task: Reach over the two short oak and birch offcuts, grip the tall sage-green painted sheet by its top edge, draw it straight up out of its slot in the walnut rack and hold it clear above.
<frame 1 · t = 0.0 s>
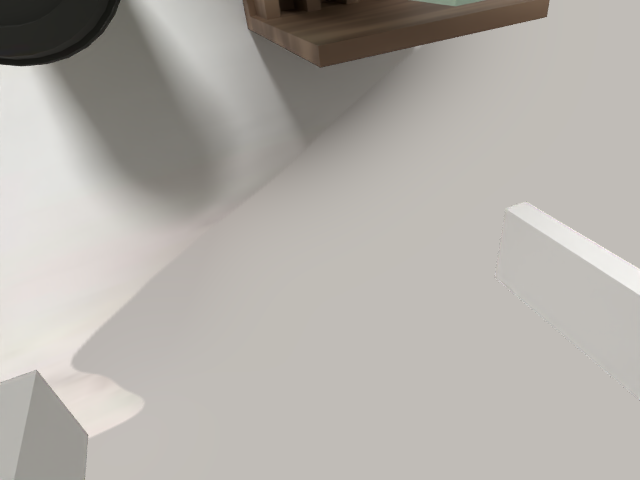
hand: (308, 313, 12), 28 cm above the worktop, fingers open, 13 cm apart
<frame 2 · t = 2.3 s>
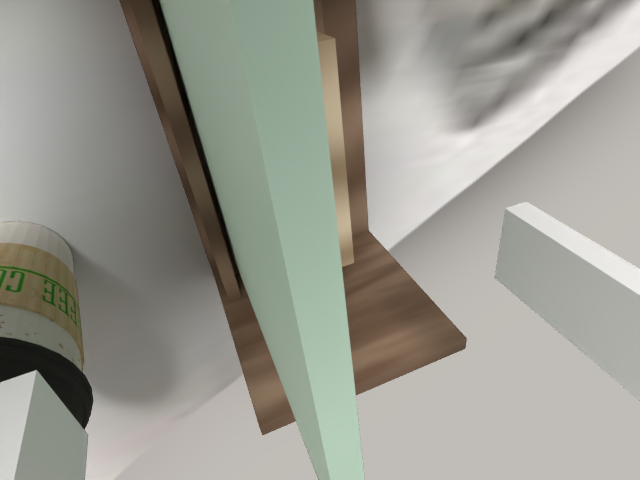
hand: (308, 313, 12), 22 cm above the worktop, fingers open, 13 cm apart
offcut birch: (292, 128, 31), point 1 cm above the worktop, touching rack
sheet: (198, 106, 28), point 1 cm above the worktop, touching rack
rack: (259, 85, 30), on the worktop
coffee cup: (22, 258, 30), on the worktop
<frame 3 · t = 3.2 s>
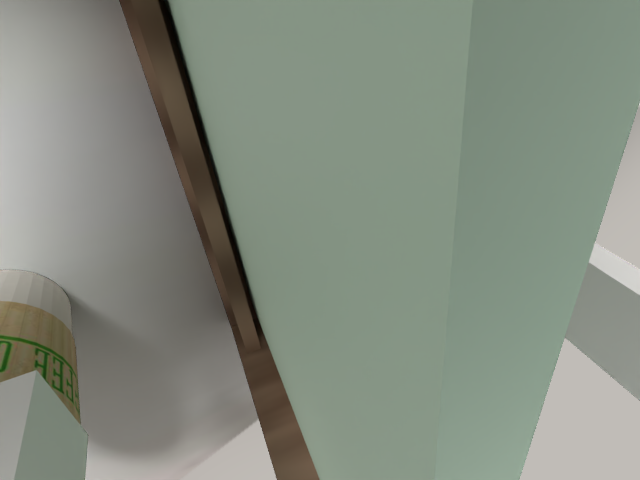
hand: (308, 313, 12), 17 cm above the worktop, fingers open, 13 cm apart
sheet: (215, 138, 24), point 1 cm above the worktop, touching rack
rack: (283, 112, 26), on the worktop
coffee cup: (13, 308, 26), on the worktop
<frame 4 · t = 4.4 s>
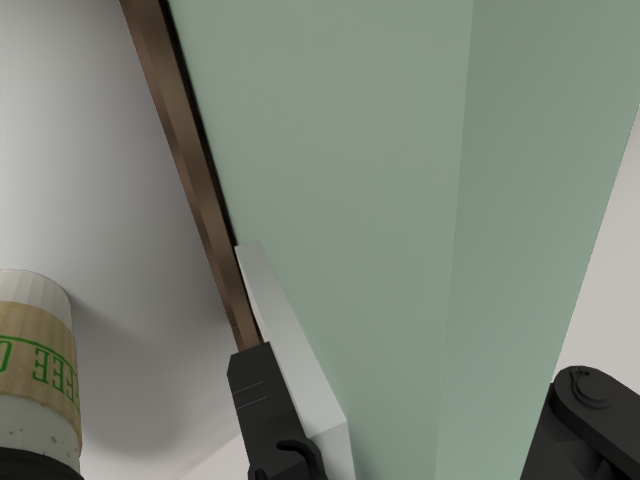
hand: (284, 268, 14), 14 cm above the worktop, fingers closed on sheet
sheet: (215, 138, 24), point 1 cm above the worktop, touching gripper, rack
rack: (283, 112, 26), on the worktop
coffee cup: (13, 308, 26), on the worktop
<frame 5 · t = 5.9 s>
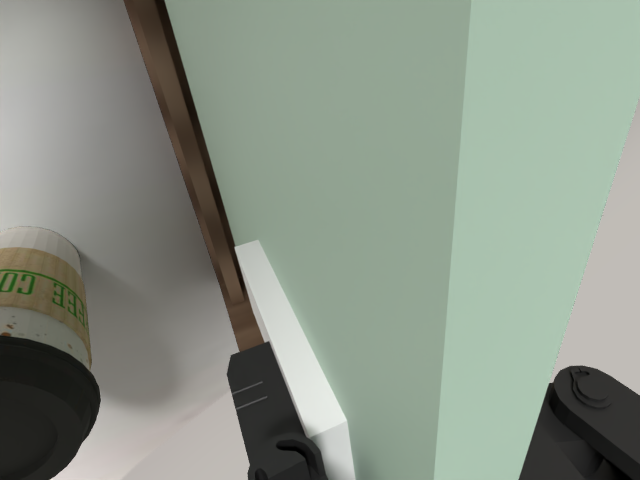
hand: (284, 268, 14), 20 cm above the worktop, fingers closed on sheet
sheet: (215, 138, 24), point 7 cm above the worktop, touching gripper
rack: (262, 94, 31), on the worktop
coffee cup: (32, 262, 31), on the worktop
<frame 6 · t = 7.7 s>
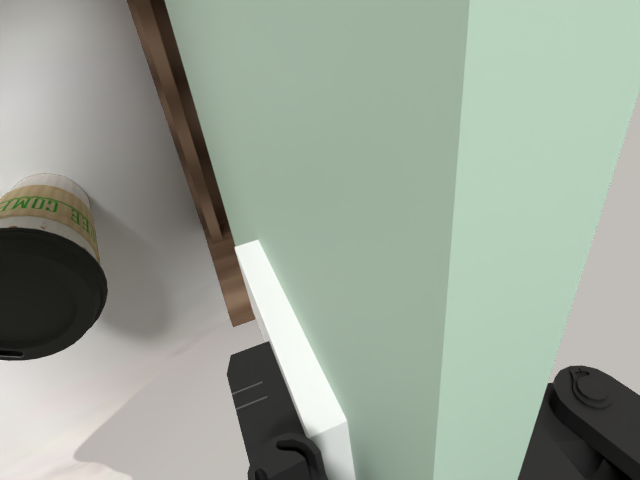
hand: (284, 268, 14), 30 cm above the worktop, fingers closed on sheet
sheet: (215, 138, 24), point 17 cm above the worktop, touching gripper
rack: (235, 69, 38), on the worktop
coffee cup: (51, 204, 39), on the worktop
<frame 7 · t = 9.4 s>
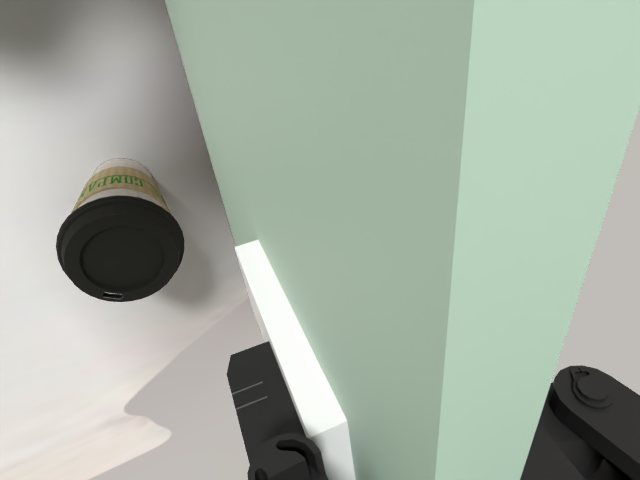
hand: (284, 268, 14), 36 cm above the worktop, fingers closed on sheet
sheet: (215, 138, 24), point 23 cm above the worktop, touching gripper
coffee cup: (123, 184, 47), on the worktop
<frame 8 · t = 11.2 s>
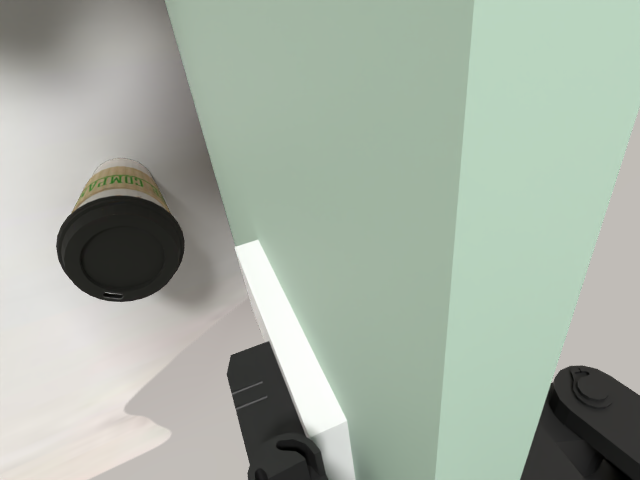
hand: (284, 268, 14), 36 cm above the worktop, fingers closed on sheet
sheet: (215, 138, 24), point 23 cm above the worktop, touching gripper
coffee cup: (123, 184, 47), on the worktop
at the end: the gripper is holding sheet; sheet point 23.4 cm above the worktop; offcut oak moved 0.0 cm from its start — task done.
